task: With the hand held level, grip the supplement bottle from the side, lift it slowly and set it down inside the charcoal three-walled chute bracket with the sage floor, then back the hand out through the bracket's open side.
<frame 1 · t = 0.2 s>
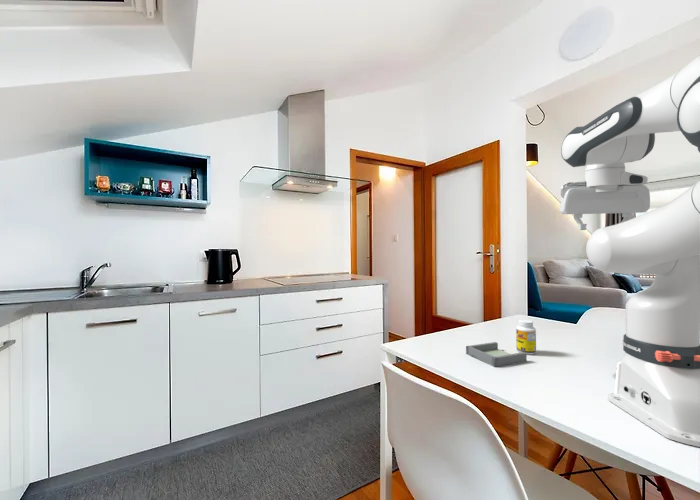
hand: (601, 229, 88), 39 cm above the table, tool pointing down, fingers open, 8 cm apart
supplement bottle: (526, 353, 100), on the table
chute bracket: (495, 357, 96), on the table
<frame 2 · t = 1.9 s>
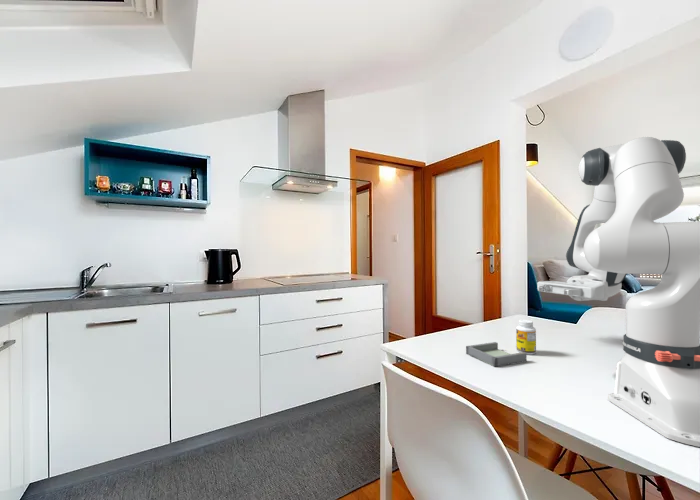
hand: (552, 290, 104), 19 cm above the table, tool horizontal, fingers open, 8 cm apart
nothing on the table moved.
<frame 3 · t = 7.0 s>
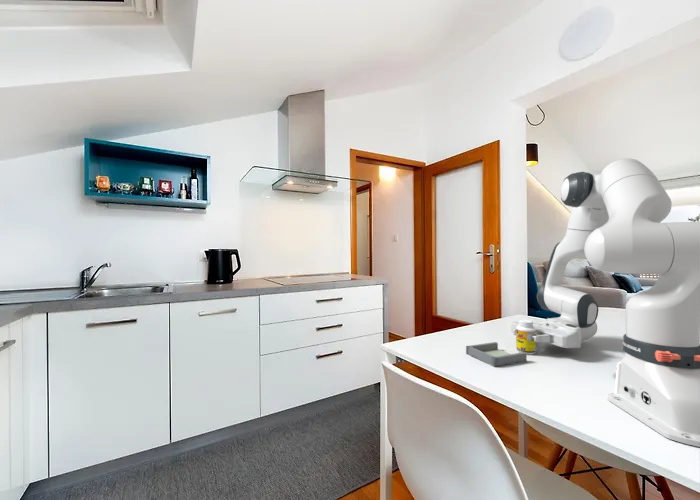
hand: (523, 335, 100), 6 cm above the table, tool horizontal, fingers closed on supplement bottle, 6 cm apart
supplement bottle: (526, 352, 100), on the table, touching gripper
when the fingers open (7 cm above the table, at t = 13.4 s): supplement bottle stays where it is, resting on chute bracket.
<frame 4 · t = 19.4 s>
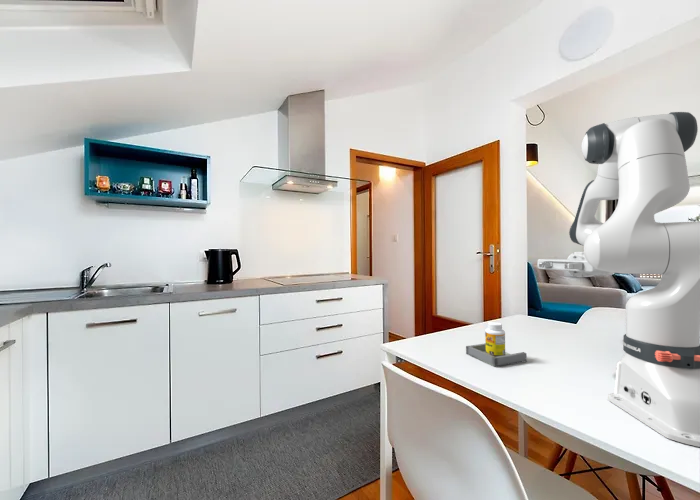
hand: (552, 265, 102), 28 cm above the table, tool horizontal, fingers open, 8 cm apart
supplement bottle: (495, 356, 96), resting on chute bracket
at the end: supplement bottle inside the target area on the chute bracket (0.0 cm from its centre), point 0.2 cm above the chute bracket's base; supplement bottle tilted 0°; the gripper is holding nothing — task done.
